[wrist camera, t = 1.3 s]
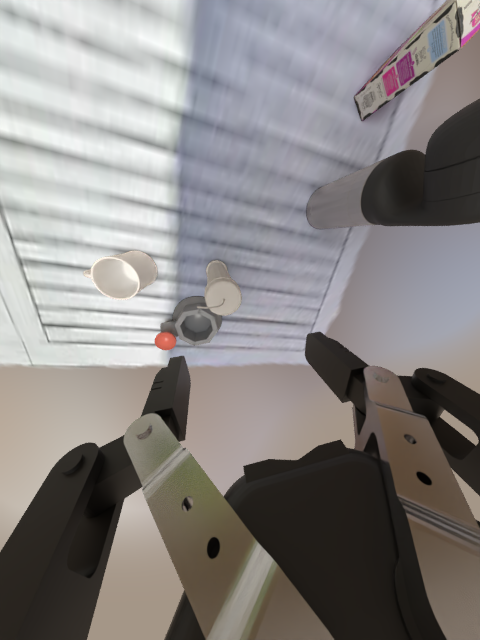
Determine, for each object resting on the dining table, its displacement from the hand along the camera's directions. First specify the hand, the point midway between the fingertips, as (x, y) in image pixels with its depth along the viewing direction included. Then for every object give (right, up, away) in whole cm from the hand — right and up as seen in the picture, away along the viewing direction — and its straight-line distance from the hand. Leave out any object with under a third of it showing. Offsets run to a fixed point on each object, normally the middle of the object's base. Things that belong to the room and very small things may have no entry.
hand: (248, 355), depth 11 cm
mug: (-27, +15, +31) cm, 44 cm away
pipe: (-7, +16, +35) cm, 39 cm away
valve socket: (-14, +2, +39) cm, 42 cm away
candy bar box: (+28, +51, +24) cm, 63 cm away
